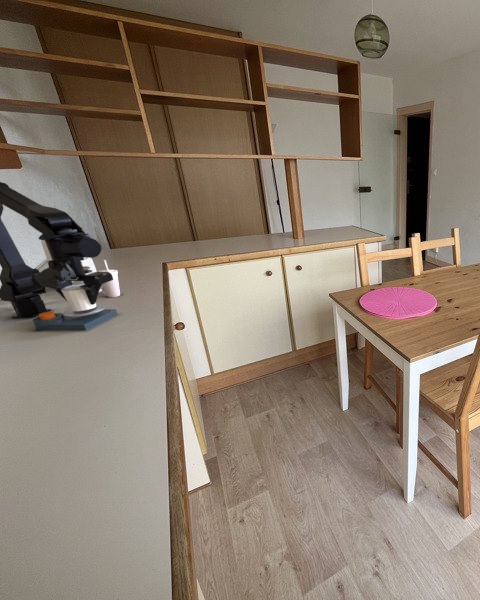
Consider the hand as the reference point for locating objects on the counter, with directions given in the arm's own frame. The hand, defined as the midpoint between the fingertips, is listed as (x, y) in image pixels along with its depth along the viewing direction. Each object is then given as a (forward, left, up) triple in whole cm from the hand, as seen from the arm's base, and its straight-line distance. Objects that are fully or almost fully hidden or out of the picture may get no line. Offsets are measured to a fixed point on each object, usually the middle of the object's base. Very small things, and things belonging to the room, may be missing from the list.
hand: (82, 304), depth 98 cm
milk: (-35, +37, -6) cm, 51 cm away
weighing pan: (0, 0, -2) cm, 2 cm away
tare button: (-6, -5, -3) cm, 9 cm away
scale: (-2, -1, -6) cm, 6 cm away
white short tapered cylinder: (0, 0, -1) cm, 1 cm away
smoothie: (-10, +23, -6) cm, 26 cm away
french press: (-24, +27, -6) cm, 36 cm away
